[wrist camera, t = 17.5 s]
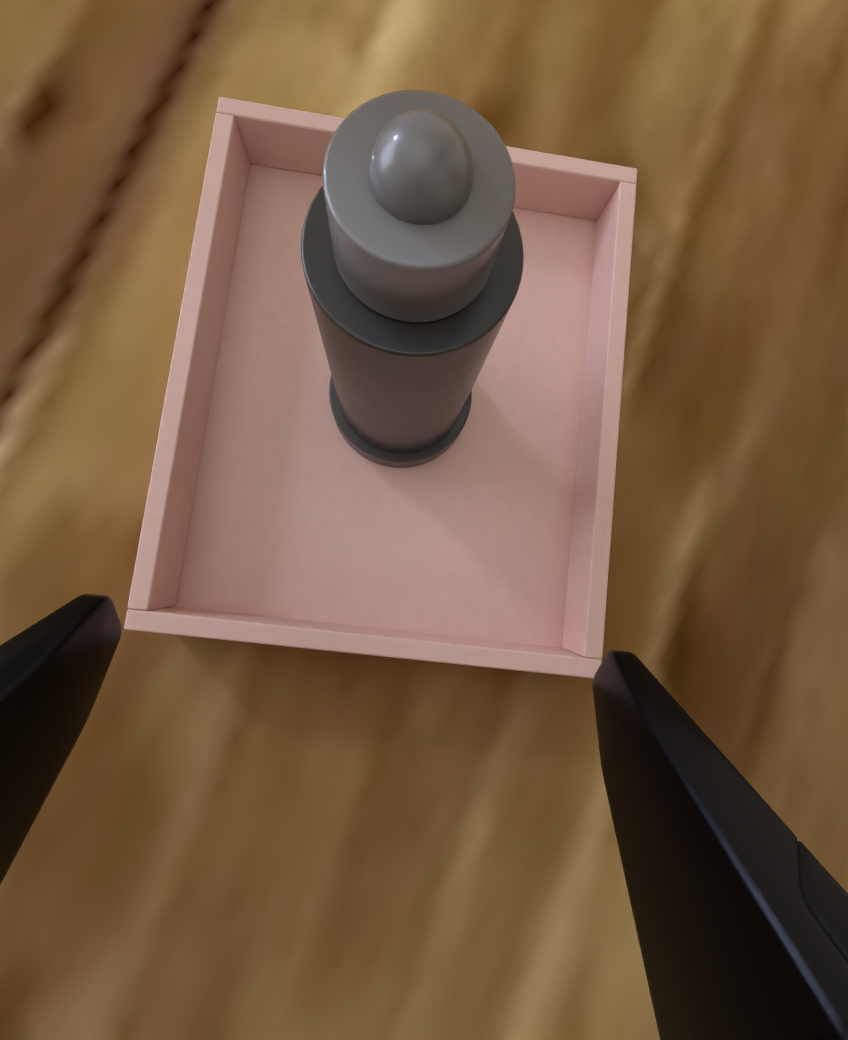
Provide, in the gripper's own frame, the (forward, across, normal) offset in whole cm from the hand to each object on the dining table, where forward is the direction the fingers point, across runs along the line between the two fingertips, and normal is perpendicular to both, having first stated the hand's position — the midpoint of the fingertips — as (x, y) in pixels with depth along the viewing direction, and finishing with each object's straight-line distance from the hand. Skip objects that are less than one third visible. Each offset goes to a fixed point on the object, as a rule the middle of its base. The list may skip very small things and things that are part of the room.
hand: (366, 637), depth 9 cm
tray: (+11, 0, +1) cm, 11 cm away
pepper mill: (+11, 0, 0) cm, 11 cm away
